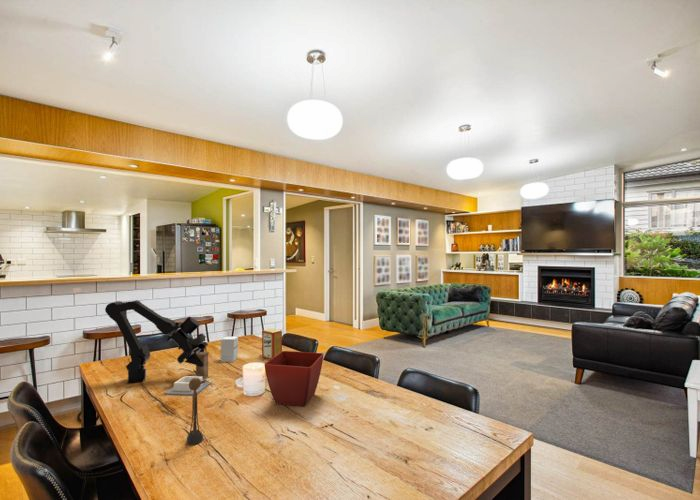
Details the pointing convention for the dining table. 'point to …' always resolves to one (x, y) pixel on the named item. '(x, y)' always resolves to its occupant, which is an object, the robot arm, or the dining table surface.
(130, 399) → the dining table surface
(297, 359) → the plant pot
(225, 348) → the supplement box
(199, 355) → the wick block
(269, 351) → the baking soda box
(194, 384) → the wooden tabletop sculpture
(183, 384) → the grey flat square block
